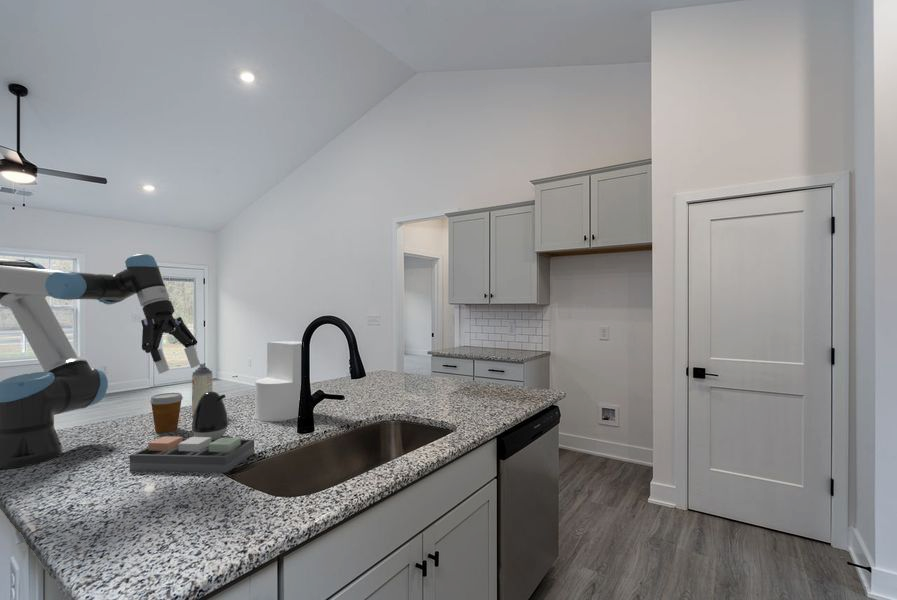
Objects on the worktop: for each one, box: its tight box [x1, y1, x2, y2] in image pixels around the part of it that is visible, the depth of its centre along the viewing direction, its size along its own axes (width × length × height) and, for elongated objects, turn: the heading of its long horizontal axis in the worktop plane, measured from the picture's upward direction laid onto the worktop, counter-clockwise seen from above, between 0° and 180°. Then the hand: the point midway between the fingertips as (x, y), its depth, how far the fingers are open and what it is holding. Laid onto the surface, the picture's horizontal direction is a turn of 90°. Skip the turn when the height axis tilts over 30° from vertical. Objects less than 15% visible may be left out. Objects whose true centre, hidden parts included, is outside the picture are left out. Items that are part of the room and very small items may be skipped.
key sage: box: [209, 437, 241, 452], centre depth 116 cm, size 6×6×2 cm
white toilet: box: [254, 340, 303, 422], centre depth 164 cm, size 17×17×28 cm
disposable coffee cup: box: [149, 392, 184, 434], centre depth 145 cm, size 10×10×12 cm
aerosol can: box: [191, 363, 213, 418], centre depth 164 cm, size 7×7×20 cm
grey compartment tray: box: [129, 437, 255, 474], centre depth 116 cm, size 26×14×4 cm, turn 86°
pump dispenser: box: [191, 390, 229, 439], centre depth 136 cm, size 10×10×15 cm
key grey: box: [178, 436, 211, 451], centre depth 116 cm, size 6×6×2 cm
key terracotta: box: [148, 435, 183, 451], centre depth 117 cm, size 6×6×2 cm
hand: (180, 369), depth 126 cm, fingers open, 13 cm apart
